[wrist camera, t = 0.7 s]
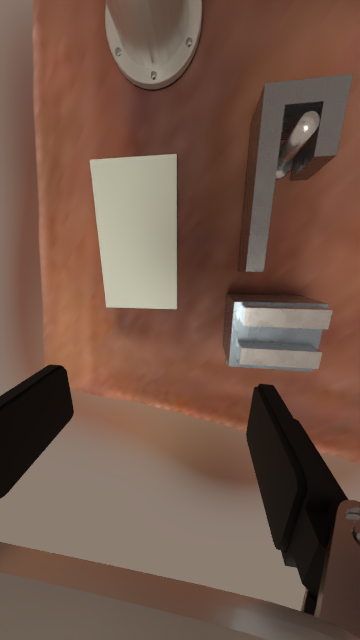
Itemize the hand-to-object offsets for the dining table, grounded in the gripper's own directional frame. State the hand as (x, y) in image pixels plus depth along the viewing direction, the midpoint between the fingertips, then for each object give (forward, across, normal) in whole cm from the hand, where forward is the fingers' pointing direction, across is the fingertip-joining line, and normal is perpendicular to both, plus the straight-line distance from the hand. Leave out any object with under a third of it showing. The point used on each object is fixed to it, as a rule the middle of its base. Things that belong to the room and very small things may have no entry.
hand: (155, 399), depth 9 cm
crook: (+26, -12, -16) cm, 33 cm away
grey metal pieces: (+26, -12, -7) cm, 30 cm away
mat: (+26, +10, -10) cm, 30 cm away
